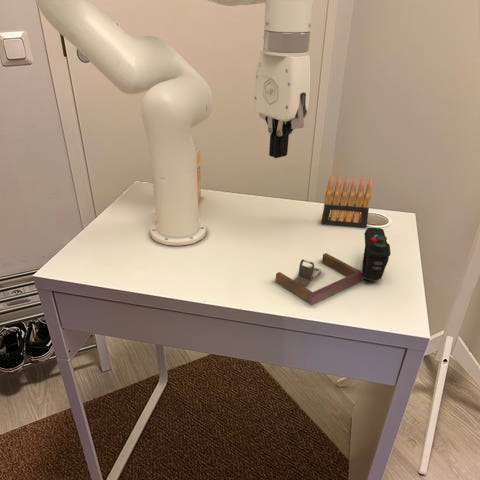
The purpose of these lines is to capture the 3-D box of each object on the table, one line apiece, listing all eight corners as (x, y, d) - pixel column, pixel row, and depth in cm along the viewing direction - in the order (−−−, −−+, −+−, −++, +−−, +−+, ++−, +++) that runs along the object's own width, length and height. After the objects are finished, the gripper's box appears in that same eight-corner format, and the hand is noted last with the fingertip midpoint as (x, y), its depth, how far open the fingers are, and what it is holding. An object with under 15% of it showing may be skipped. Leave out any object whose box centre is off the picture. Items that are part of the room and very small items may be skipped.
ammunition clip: (365, 224, 114) (375, 176, 107) (366, 228, 112) (375, 178, 105) (321, 221, 115) (327, 172, 108) (321, 224, 114) (327, 175, 106)
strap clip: (308, 268, 96) (310, 250, 94) (322, 273, 95) (324, 254, 92) (288, 286, 90) (289, 267, 88) (302, 291, 89) (304, 272, 87)
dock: (275, 282, 92) (275, 273, 90) (324, 261, 99) (326, 252, 98) (311, 305, 85) (312, 296, 84) (361, 281, 93) (363, 272, 91)
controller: (360, 289, 90) (370, 242, 84) (357, 259, 100) (366, 215, 94) (383, 292, 89) (395, 245, 84) (378, 261, 99) (388, 217, 93)
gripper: (240, 40, 80) (238, 149, 91) (301, 50, 71) (290, 170, 82) (273, 38, 84) (267, 143, 95) (335, 47, 75) (320, 163, 86)
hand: (278, 155), depth 88 cm, fingers closed
